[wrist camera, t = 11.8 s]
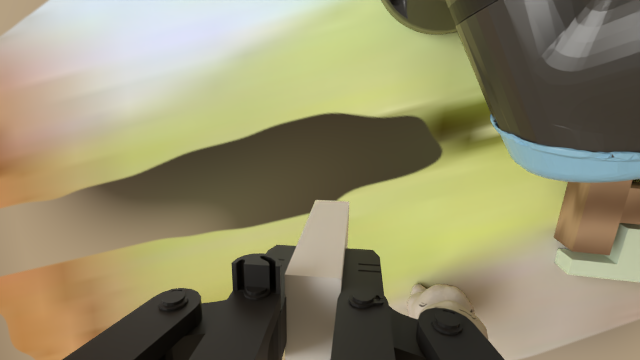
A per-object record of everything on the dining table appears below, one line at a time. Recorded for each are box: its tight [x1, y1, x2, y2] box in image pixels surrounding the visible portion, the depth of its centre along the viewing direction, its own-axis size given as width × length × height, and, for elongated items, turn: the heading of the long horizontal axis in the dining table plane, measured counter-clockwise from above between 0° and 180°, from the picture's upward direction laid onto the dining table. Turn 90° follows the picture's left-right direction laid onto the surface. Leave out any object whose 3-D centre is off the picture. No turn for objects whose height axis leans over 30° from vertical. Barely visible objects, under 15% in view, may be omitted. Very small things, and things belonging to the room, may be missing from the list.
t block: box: [554, 180, 640, 255], centre depth 40 cm, size 12×12×4 cm
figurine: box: [407, 284, 488, 340], centre depth 40 cm, size 9×10×15 cm
